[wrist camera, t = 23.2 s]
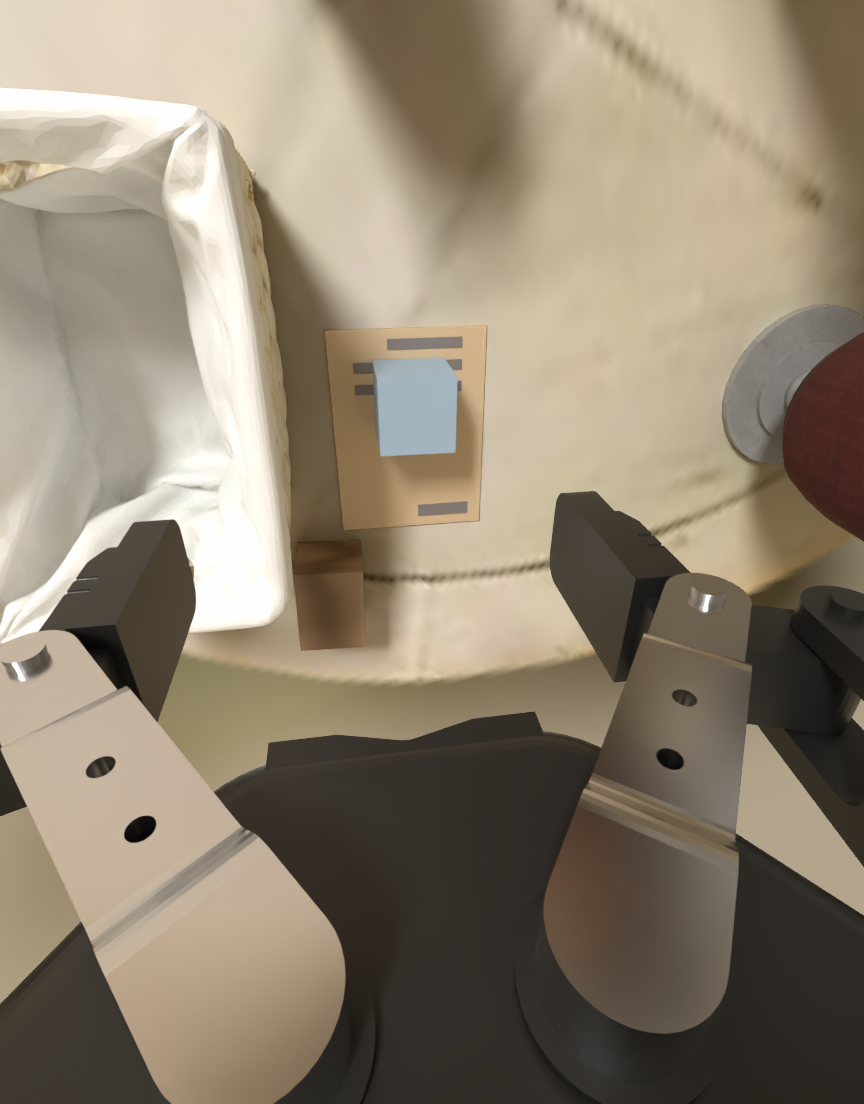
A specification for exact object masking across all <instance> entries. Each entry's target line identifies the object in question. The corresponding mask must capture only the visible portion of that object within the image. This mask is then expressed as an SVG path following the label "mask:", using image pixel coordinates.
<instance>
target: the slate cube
mask: <svg viewBox="0 0 864 1104" xmlns="http://www.w3.org/2000/svg"><path fill="white" fill-rule="evenodd" d="M372 367H373V387H374V408H375V429H376V435H377V440H378V446H379V451H380V456H398V455H418V454H437V453H455V451H456V415H457V379H458V377H457V375H456V374H455V372H454V371H453V370H452V368H451V367H450V365H449V364H448V362H447V361H446V360H445V358H424V359H391V360H372Z"/></svg>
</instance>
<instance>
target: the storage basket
mask: <svg viewBox="0 0 864 1104" xmlns="http://www.w3.org/2000/svg"><path fill="white" fill-rule="evenodd" d="M255 173H256V171H254V170H251V169H248V166H247V164H246V162H245V161H244V160H243V158H242V157H241V156H240V153H239V152H238V151H237V150H236V149H235V146H234V142H233V139H232V137H231V135H230V133H229V131H228V129H227V128H226V126H225V125H224V124H222V123H221V122H220V121H219V120H217V119H216V118H214V117H212V116H211V115H209V114H208V113H207V112H206V111H205V110H203V109H200V108H198V107H195V106H192V105H187V104H178V103H169V102H159V101H148V100H140V99H133V98H125V97H117V96H109V95H98V94H87V93H74V92H62V91H45V90H29V89H12V88H0V643H2V644H3V643H5V642H7V641H9V640H12V639H14V638H17V637H20V636H22V635H26V634H29V633H33V632H38V631H39V630H40V628H41V627H42V626H43V624H44V623H45V621H46V620H47V619H48V617H49V616H50V614H51V613H52V611H53V610H54V609H55V607H56V606H57V604H58V603H59V602H60V600H61V599H62V597H63V596H64V594H67V590H68V589H69V587H70V586H71V585H72V583H73V582H74V581H76V577H77V576H78V575H79V573H80V572H81V570H82V569H83V568H84V566H85V565H86V563H87V562H88V561H90V560H91V559H93V558H94V557H95V556H97V555H98V554H100V553H101V552H103V551H104V550H106V549H107V548H112V547H118V545H119V544H120V542H121V540H122V539H123V537H124V536H125V534H126V533H127V531H128V530H129V528H130V527H131V525H132V524H133V523H134V522H142V521H156V520H171V519H174V520H175V521H176V522H177V523H178V525H179V527H180V530H181V534H182V538H183V542H184V546H185V549H186V553H187V557H188V561H189V565H190V567H194V580H193V581H194V585H195V591H196V610H195V614H194V617H193V620H192V623H191V626H190V629H189V632H188V633H201V632H214V631H224V630H234V629H245V628H253V627H259V626H265V625H269V624H271V623H272V622H273V621H274V620H275V619H277V618H278V617H279V616H280V615H281V614H282V613H283V612H284V611H285V609H286V606H287V604H288V603H289V602H290V600H291V598H292V594H293V573H292V560H291V548H290V543H291V536H290V533H289V531H290V528H291V517H290V515H291V486H292V485H291V484H290V480H291V463H290V459H289V455H288V453H289V436H288V430H287V425H286V419H287V401H286V393H285V389H284V386H283V369H282V361H281V355H280V351H279V346H278V342H277V339H276V320H275V314H274V309H273V305H272V302H271V289H270V277H269V271H268V265H267V260H266V256H265V253H264V246H263V236H262V224H261V219H260V216H259V214H258V211H257V209H256V206H255V203H254V194H253V185H252V178H251V177H255Z"/></svg>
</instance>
